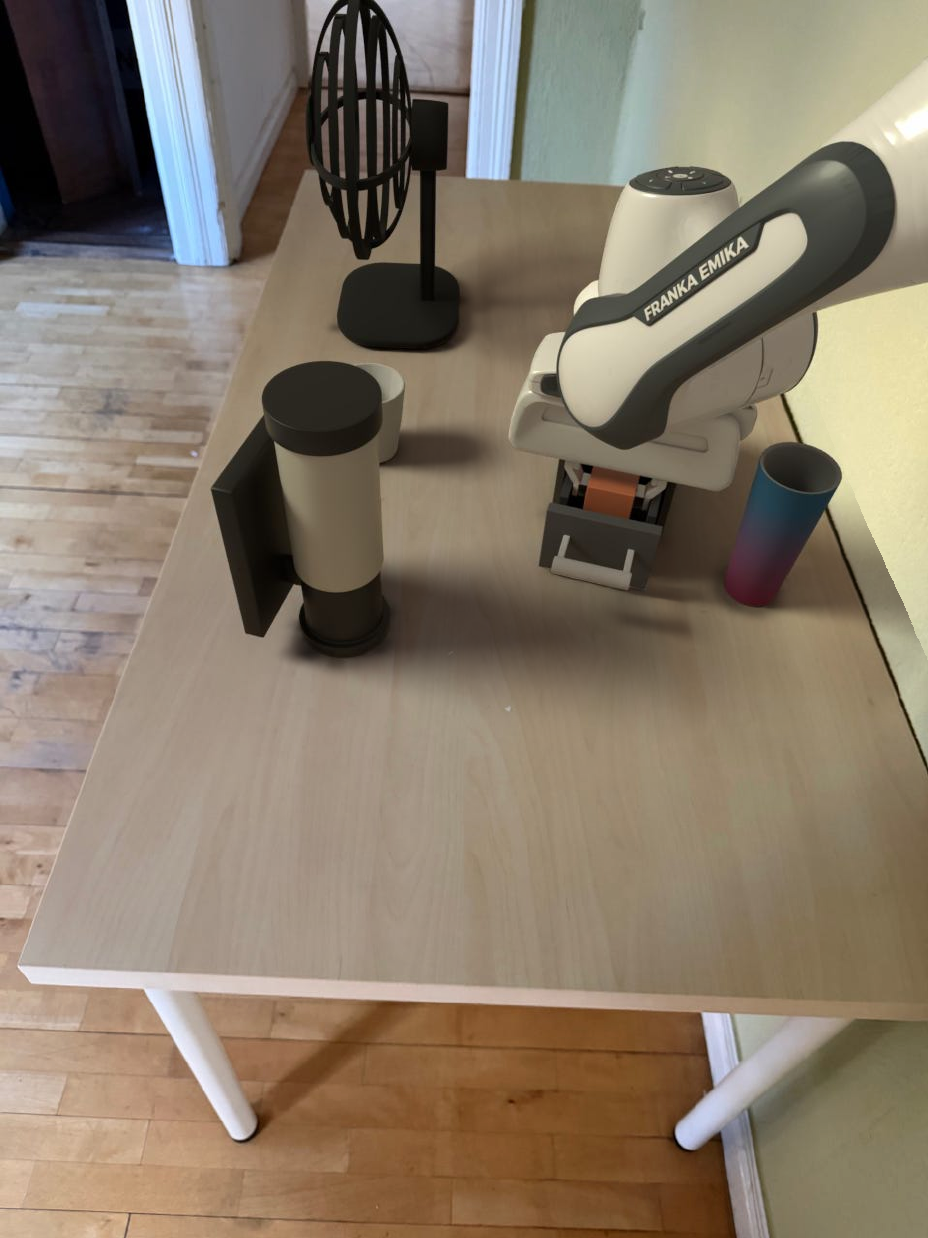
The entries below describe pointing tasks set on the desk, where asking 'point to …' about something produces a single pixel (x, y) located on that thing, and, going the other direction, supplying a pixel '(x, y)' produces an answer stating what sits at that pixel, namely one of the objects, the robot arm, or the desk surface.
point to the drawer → (600, 541)
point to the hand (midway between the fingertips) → (609, 499)
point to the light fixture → (310, 508)
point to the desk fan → (382, 292)
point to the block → (611, 492)
